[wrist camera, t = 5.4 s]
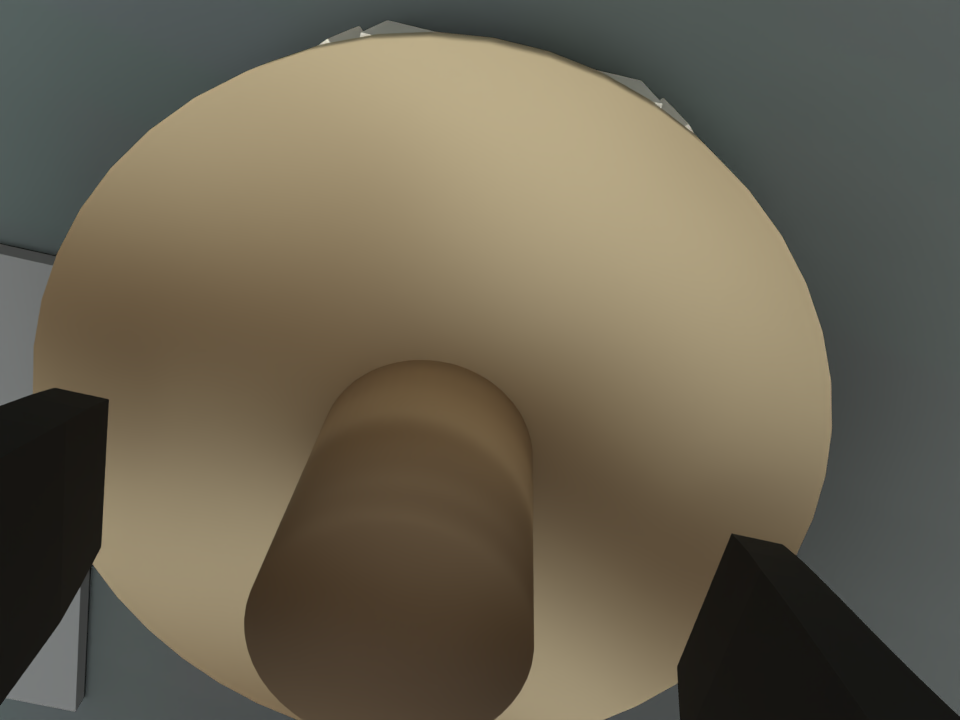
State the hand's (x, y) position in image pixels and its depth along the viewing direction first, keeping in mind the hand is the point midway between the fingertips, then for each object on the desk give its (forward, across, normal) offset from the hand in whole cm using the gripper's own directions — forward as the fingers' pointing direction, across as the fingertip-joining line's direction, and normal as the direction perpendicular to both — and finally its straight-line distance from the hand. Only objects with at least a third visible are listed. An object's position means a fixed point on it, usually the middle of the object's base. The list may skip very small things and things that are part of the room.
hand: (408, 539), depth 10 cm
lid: (+3, 0, 0) cm, 3 cm away
